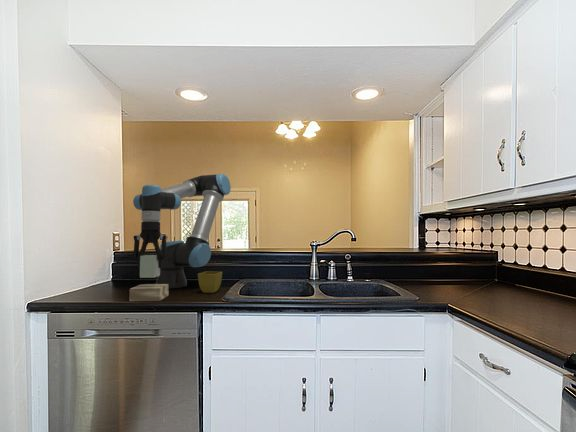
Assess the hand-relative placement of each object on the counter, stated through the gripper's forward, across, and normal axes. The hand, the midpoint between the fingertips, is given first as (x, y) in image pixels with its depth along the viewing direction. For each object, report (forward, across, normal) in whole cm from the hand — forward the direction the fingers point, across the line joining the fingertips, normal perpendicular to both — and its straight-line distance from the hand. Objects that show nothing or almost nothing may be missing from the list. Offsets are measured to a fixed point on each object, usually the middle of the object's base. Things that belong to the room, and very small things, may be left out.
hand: (149, 275), depth 144 cm
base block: (+9, 0, 0) cm, 9 cm away
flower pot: (+10, +23, +13) cm, 28 cm away
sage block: (0, 0, 0) cm, 1 cm away
